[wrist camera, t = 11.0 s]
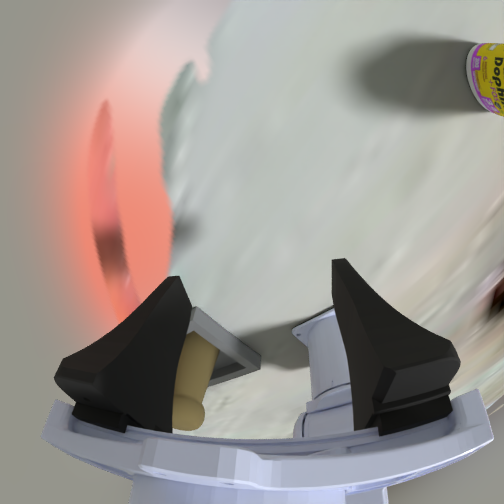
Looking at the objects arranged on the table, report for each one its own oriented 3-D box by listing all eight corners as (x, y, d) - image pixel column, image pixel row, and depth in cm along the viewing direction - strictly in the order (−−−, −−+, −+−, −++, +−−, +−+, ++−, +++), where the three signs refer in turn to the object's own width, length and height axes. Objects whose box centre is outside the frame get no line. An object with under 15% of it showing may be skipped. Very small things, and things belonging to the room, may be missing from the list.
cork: (185, 360, 34) (168, 434, 25) (163, 332, 31) (136, 412, 22) (227, 357, 33) (216, 437, 24) (207, 326, 30) (188, 416, 21)
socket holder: (261, 356, 33) (260, 369, 31) (202, 377, 37) (199, 389, 36) (196, 306, 29) (192, 320, 27) (142, 338, 33) (137, 349, 31)
